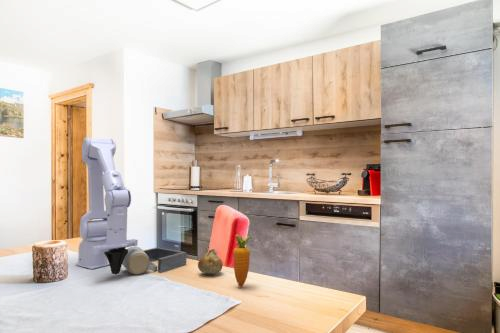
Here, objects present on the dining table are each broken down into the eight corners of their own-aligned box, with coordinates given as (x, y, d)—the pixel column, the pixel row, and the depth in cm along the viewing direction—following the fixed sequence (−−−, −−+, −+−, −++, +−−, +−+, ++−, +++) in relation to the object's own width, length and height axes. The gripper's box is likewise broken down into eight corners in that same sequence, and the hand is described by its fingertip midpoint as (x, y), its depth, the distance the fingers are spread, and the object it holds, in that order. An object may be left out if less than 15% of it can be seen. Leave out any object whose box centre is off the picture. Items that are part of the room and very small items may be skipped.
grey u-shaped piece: (130, 266, 115) (130, 253, 116) (157, 258, 126) (157, 247, 126) (160, 272, 108) (160, 259, 108) (186, 264, 119) (186, 252, 119)
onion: (194, 272, 109) (194, 248, 109) (217, 270, 113) (217, 246, 113) (202, 279, 102) (202, 253, 102) (226, 276, 106) (226, 250, 106)
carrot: (251, 285, 97) (252, 233, 97) (246, 291, 92) (247, 236, 93) (235, 283, 99) (236, 232, 99) (229, 289, 94) (230, 235, 94)
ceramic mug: (126, 277, 103) (128, 252, 103) (120, 270, 110) (121, 247, 110) (160, 273, 109) (161, 249, 109) (152, 267, 116) (153, 244, 116)
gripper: (104, 233, 94) (102, 281, 94) (144, 227, 107) (143, 269, 106) (88, 230, 98) (87, 277, 97) (129, 225, 110) (128, 266, 110)
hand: (115, 273), depth 102 cm, fingers closed
